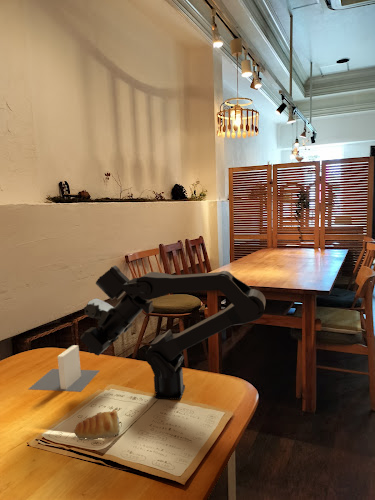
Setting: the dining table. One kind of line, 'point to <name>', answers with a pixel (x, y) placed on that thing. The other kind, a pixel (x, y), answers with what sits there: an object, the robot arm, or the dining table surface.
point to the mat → (53, 381)
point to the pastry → (99, 426)
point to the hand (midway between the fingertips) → (89, 351)
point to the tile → (69, 366)
